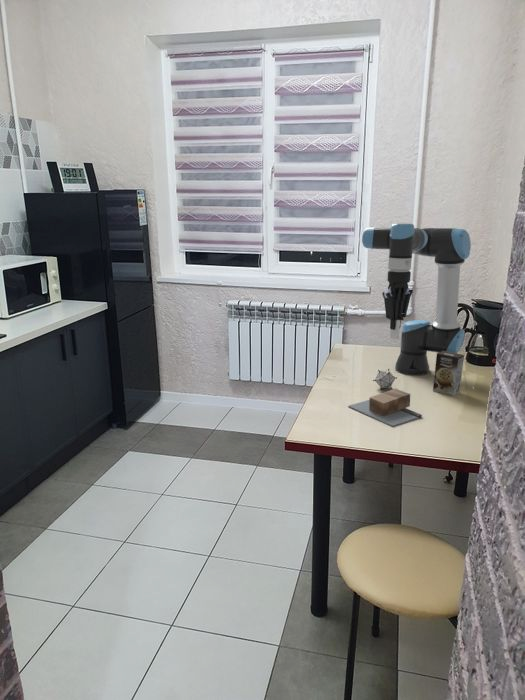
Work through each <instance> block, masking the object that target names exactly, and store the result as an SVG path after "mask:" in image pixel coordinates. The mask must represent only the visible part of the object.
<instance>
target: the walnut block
mask: <svg viewBox="0 0 525 700" xmlns="http://www.w3.org/2000/svg"><path fill="white" fill-rule="evenodd" d="M368 400H369V410H370V411H372V412H375V413H377V414H379V415H382V416H386V415H388V414H391V413H394V412H396V411H399V410H401V409H404V408H406V409H408V408H409V407H411V406H410V405H411V393H410V392H406V391H404V390H401V389H399V388H392V389H390V390H387V391H384V392H382V393H379V394H376V395H373V396H370V397H369V399H368Z"/></svg>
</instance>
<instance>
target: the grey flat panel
mask: <svg viewBox="0 0 525 700" xmlns="http://www.w3.org/2000/svg"><path fill="white" fill-rule="evenodd" d="M348 408H349V409H352V410H354V411H356V412H359V413H361V414H363V415H365V416H367V417H369V418H371V419H374V420H376V421H379V422H381V423H383V424H386V425H388V426H389V427H393V428H394V427H396V426H400V425H403V424H405V423H408V422H409V423H410V422H412V421H414V420H418V419H421V418H422V417H423V415H422V414H421V413H418V412H416V411H413V410H411V409H408V408H404V409H401V410H399V411H396V412H394V413H391V414H388V415H386V416H382V415H379V414H377V413H375V412H372V411H370V410H369V399H367V400H364V401H361V402H357V403H353V404H350V405H348Z"/></svg>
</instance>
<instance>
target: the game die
mask: <svg viewBox="0 0 525 700" xmlns="http://www.w3.org/2000/svg"><path fill="white" fill-rule="evenodd" d="M377 371H378V372H377V375H376V377H375V379H373V380H372V381H373V382H375V383H377V385H378V387H380V390H382V389H387V388H390V390H393V388H392V385H393V384H394V381H395V380H396V379H398V377H397V376H396V377H395V375H393V374H392V372H391V371H390V368H388V369H386V370H379V369H377Z"/></svg>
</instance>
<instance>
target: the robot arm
mask: <svg viewBox="0 0 525 700" xmlns="http://www.w3.org/2000/svg"><path fill="white" fill-rule="evenodd" d="M361 237H362V238H361V242H362V245H363V247H364V248H365V249H371V250H373V249H374V250H389V251H388V252H389V254H388V255H389V256H388V264H387V265H388V266H387V268H388V271H387V279H386V280H387V282H388V283H389V284H388V286H387V290H386V291H382V297H383V300H384V311H385V317H386V319H388V320H390V323H389V329H390V332H389V333H390V334H389V335H390V336H389V338H390V339H395V340H398V339H400V353H399V355H398V357H397V360H396V363H395V364H394V365H395V366H394V369H395V371H397V372H398V373H401V374H405V375H409V376H422V375H423V376H424V375H427V374H429V373H430V364H429V360H428V356H427V353H428V352H433V353H436V354H437V353H439V352H442V351H447V352H452V353H457V354H459V352H460V350H461V348H462V346H463V343H464V341H465V340H464V339H465V337H466V335H465V334H466V332H465V329H463V328H461V322H459V321H458V307H459V291H460V290H459V289H460V274H461V266H462V265H463V264H464V263H465V260H466V259H468V258H469V257H470V254H471V248H472V247H471V246H472V245H471V244H472V243H471V237H470V234H469V233H468V230H466V229H464V228H457V227H452V228H450V227H447V228H446V227H443V228H441V227H440V228H439V227H427V228H425V227H424V228H419V227H415V225H414V224H413V223H404V222H403V223H399V222H398V223H393V224H392V225H391V227H390V228H389V227H374V226H373V227H366V228H365V230H364V231H363V233H362V235H361ZM413 254H414V255H419V256H424V257H430V258H431V257H432V258H434V263H435V264H436V266H437V268H438V269H437V288H436V289H437V290H436V310H435V312H436V313H435V314H436V315H435V320H434V321H433V322H431V323H432V324H431V323H430V321H429V320H426V319H416V320H409V321H405V322H404V323H403V324H402V321H404V319H405V318H406V317H407V313H408V308H409V304H410V301H411V296H412V295H413V292H414V290H413V289H410V288H409V283H410V282H411V275H412V274H411V273H412V272H411V271H410V270H411V269H412V260H413ZM401 325H402V329H401ZM400 330H401V338H400Z"/></svg>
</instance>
